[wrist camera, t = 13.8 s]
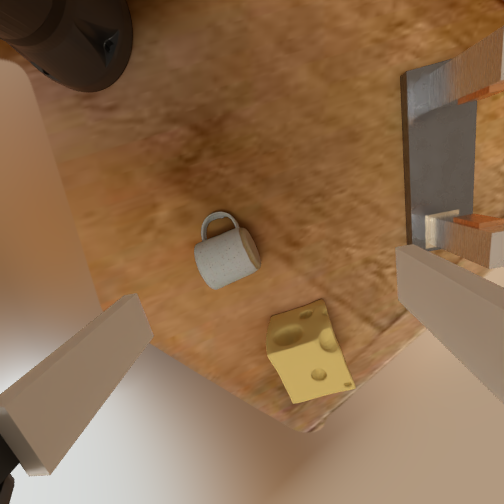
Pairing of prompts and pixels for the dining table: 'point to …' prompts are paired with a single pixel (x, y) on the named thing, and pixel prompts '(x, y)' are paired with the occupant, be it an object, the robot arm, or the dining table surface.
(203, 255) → the ceramic mug
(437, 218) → the loose carton
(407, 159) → the rail
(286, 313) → the cheese
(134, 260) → the dining table surface
